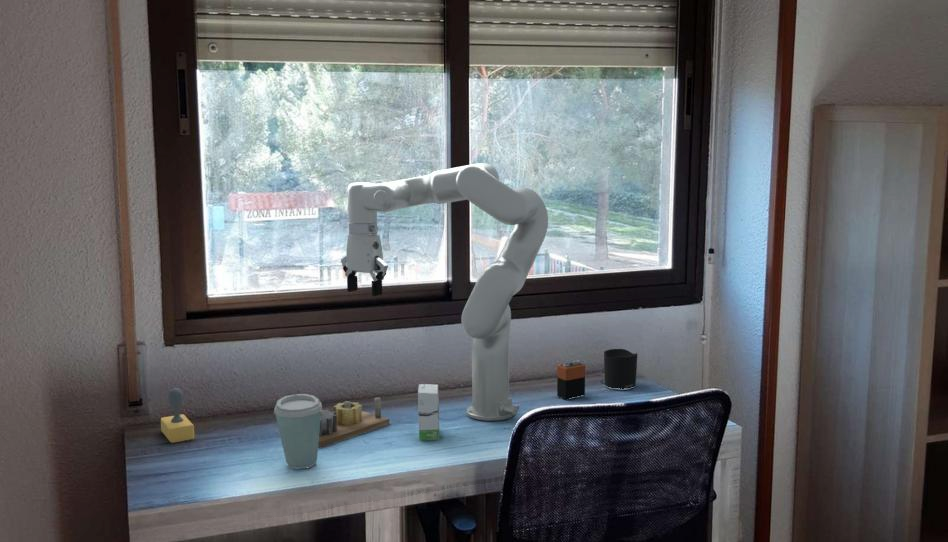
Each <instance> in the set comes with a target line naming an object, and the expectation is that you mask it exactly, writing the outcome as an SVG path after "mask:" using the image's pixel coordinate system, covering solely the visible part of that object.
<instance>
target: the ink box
mask: <svg viewBox="0 0 948 542" xmlns="http://www.w3.org/2000/svg"><path fill="white" fill-rule="evenodd" d="M439 403H440V399H439V384H429V383H428V384H427V383H421V384H418V388H417V406H418V407H417V408H418V412H417V414H418V415H417V416H418V418H417V419H418V438H419V441H439V440H440V404H439Z"/></svg>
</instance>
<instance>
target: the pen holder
mask: <svg viewBox="0 0 948 542" xmlns="http://www.w3.org/2000/svg"><path fill="white" fill-rule="evenodd" d="M603 364H604V365H603V367H604V370H603V371H604V386H605V385H606V386H608V387H611V388H620V389H621V388H622V389H624V388H631V387H634V386H635V387H636V384H637V370H638V369H637V367H638V352H636V353H632V352H631V351H629V350H627V349H624V348H611V349H607V350H604V352H603ZM606 386H605V387H606ZM635 387H634V388H635Z"/></svg>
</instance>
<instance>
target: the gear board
mask: <svg viewBox="0 0 948 542" xmlns="http://www.w3.org/2000/svg"><path fill="white" fill-rule="evenodd" d="M381 399H382V398H381V397H374V413H370V412H368V411H364V410H362V422H360V423H359V424H357V425H356V424H354V425H349V426H345V425H337V415H336V412H335V411H334V410H333V411H331V410H330V409H322V410H321V417H320V429H319V442H318V448H320V447H322V448H325V447H327V446H330V444H331V445H333V444H336V442H337V443H339V442H343V441H345V440H349V439H351V438H354V437H357V436H360V435H363V434H366V433H369V432H372V431H374V430H377V429H381V428H383V427H387V426H389V425H390V418H387V417H383V416H382V406H381V404H382V403H381V402H382V401H381ZM350 402H351V401H348V400H346V401H344V402H343V403H344V408H351V406H350ZM368 431H369V432H368ZM365 432H366V433H365ZM362 433H363V434H362ZM359 434H360V435H359ZM356 435H357V436H356ZM350 437H351V438H350Z"/></svg>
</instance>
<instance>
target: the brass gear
mask: <svg viewBox="0 0 948 542" xmlns="http://www.w3.org/2000/svg"><path fill="white" fill-rule="evenodd" d="M350 406H351V408H344V402H342V403H341V402H338V403H337V404H336V405H334V406H333V412H334V411H335V412H336V415H337V425H345V426H349V425H354V424H356V425H357V424H359V423H360V422H362V411H363V406H362V404H360V402H354V401H353V402H351V401H350Z"/></svg>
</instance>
